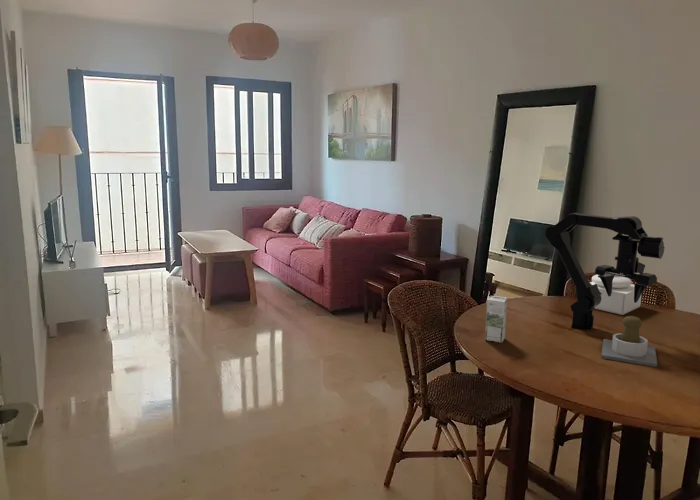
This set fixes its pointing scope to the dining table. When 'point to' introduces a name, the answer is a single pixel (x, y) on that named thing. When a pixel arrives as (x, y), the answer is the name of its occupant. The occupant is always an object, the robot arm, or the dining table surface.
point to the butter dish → (617, 295)
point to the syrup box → (496, 319)
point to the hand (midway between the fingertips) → (622, 299)
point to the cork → (631, 329)
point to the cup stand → (629, 351)
